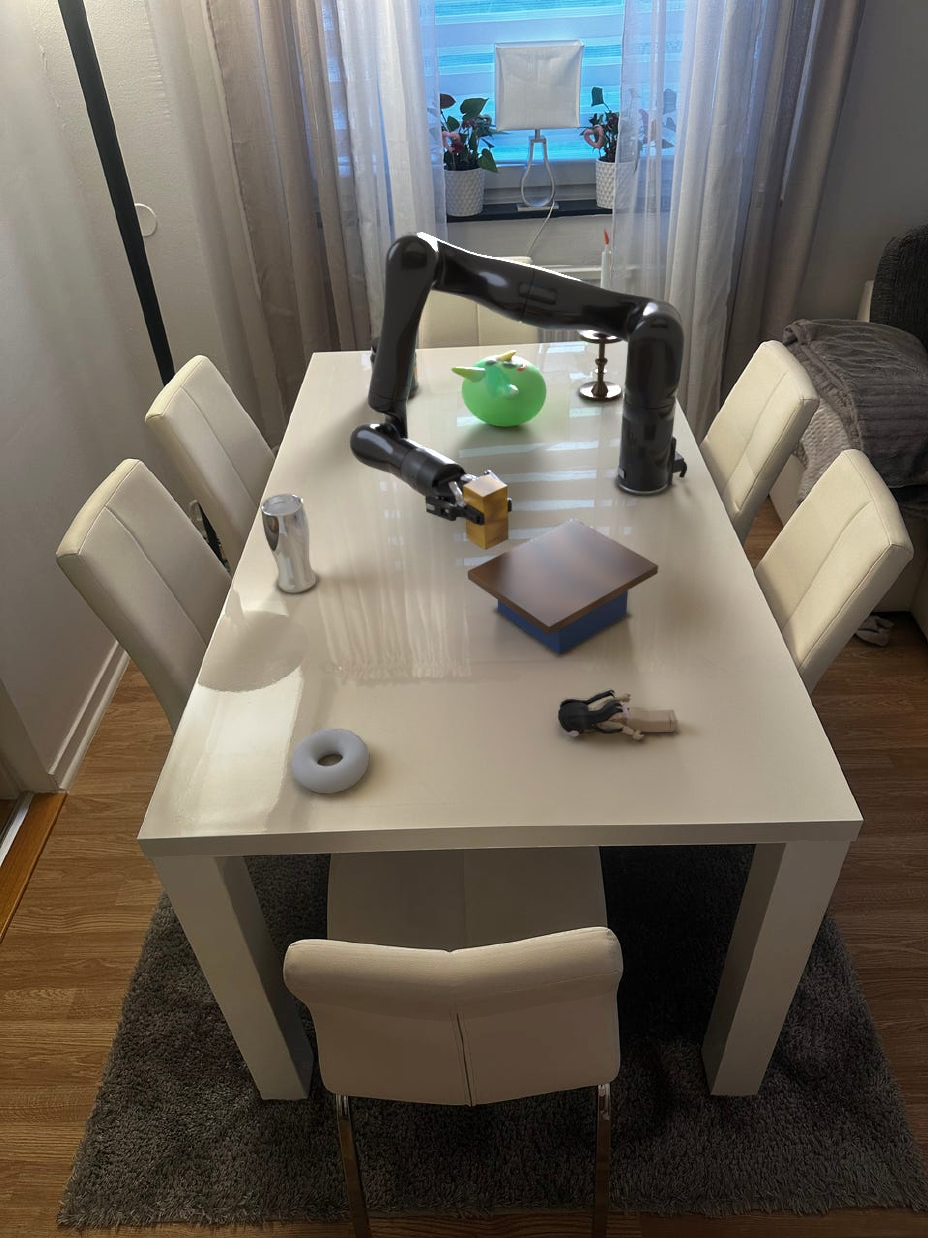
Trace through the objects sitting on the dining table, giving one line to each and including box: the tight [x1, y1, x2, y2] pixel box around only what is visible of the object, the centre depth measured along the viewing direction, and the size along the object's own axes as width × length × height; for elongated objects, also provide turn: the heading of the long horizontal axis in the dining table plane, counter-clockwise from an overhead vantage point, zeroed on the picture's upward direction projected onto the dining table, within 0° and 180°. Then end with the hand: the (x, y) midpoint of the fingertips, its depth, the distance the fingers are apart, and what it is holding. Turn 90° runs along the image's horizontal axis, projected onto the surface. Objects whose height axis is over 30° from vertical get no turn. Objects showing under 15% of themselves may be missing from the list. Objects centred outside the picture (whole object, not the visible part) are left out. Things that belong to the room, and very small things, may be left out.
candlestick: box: [576, 228, 624, 403], centre depth 189 cm, size 11×11×35 cm
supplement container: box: [369, 335, 420, 398], centre depth 202 cm, size 10×10×12 cm
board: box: [467, 518, 659, 635], centre depth 133 cm, size 22×18×2 cm
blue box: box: [497, 590, 629, 655], centre depth 136 cm, size 14×14×7 cm
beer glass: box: [260, 493, 316, 594], centre depth 143 cm, size 7×7×15 cm
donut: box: [290, 728, 370, 794], centre depth 114 cm, size 10×3×10 cm
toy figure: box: [557, 687, 678, 740], centre depth 116 cm, size 7×6×15 cm
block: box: [463, 475, 510, 551], centre depth 143 cm, size 5×5×10 cm
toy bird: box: [450, 350, 547, 427], centre depth 186 cm, size 18×17×15 cm
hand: (496, 513), depth 141 cm, fingers closed on block, 5 cm apart
